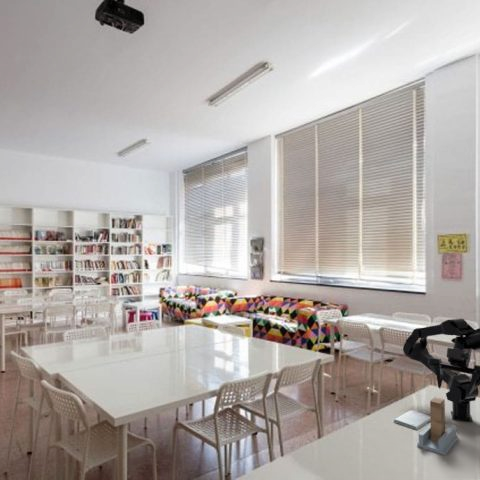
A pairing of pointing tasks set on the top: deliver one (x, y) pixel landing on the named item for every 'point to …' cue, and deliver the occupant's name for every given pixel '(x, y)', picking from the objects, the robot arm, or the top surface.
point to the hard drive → (413, 419)
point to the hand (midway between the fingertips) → (453, 391)
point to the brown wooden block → (437, 418)
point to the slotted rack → (442, 444)
